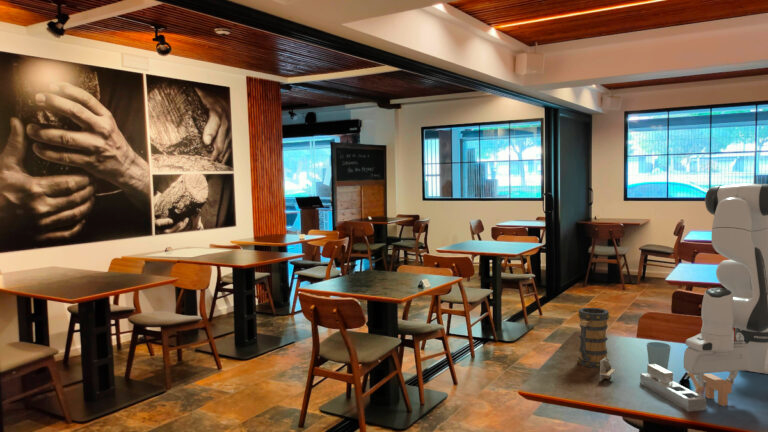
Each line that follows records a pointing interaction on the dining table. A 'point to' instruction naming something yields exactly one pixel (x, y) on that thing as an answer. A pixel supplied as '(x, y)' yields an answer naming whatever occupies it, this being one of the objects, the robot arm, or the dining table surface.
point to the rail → (671, 388)
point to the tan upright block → (717, 388)
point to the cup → (658, 353)
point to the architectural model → (605, 369)
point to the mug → (593, 336)
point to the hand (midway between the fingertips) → (716, 385)
